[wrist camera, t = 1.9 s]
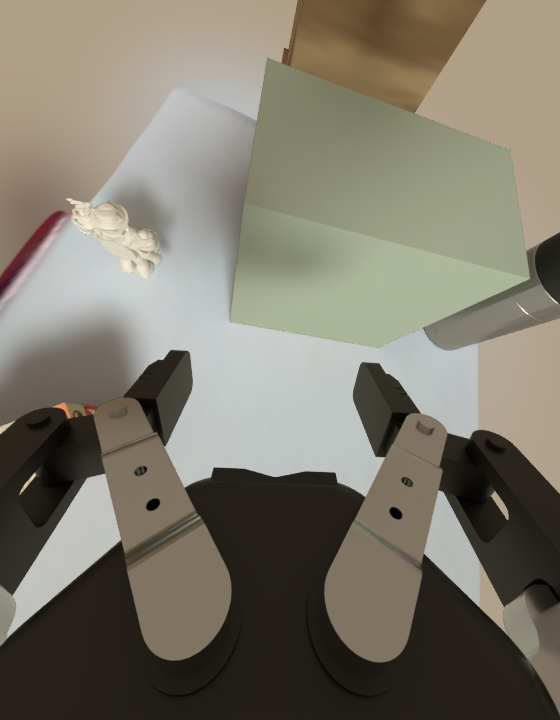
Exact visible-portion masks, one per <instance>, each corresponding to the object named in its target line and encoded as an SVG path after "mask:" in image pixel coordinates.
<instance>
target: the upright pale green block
mask: <svg viewBox="0 0 560 720" xmlns="http://www.w3.org/2000/svg"><path fill="white" fill-rule="evenodd" d="M529 279H530V274H529V267H528V261H527V254H526V248H525V241H524V235H523V228H522V221H521V215H520V208H519V202H518V195H517V188H516V182H515V176H514V169H513V162H512V156H511V150H509V149H507V148H504V147H502V146H499V145H496V144H494V143H491V142H488V141H486V140H483V139H480V138H478V137H475V136H472V135H470V134H467V133H464V132H462V131H459V130H456V129H454V128H451V127H449V126H446V125H443V124H440V123H438V122H435V121H433V120H430V119H427V118H425V117H422V116H419V115H417V114H414V113H412V112H409V111H406V110H404V109H401V108H398V107H396V106H393V105H390V104H388V103H385V102H382V101H380V100H377V99H374V98H372V97H369V96H367V95H364V94H361V93H359V92H356V91H353V90H351V89H348V88H345V87H343V86H340V85H337V84H335V83H332V82H329V81H327V80H324V79H322V78H319V77H316V76H314V75H311V74H308V73H306V72H303V71H300V70H298V69H295V68H292V67H290V66H287V65H285V64H282V63H279V62H276V61H274V60H271V59H269V58H267V63H266V69H265V75H264V82H263V88H262V94H261V100H260V106H259V112H258V119H257V125H256V131H255V137H254V143H253V149H252V156H251V162H250V168H249V174H248V180H247V187H246V193H245V199H244V206H243V214H242V223H241V231H240V240H239V248H238V257H237V265H236V273H235V282H234V290H233V299H232V307H231V316H230V322H232V323H238V324H244V325H249V326H255V327H261V328H267V329H272V330H278V331H284V332H290V333H295V334H301V335H307V336H312V337H318V338H324V339H330V340H335V341H341V342H347V343H352V344H358V345H364V346H370V347H375V348H379V347H382V346H384V345H386V344H388V343H390V342H393V341H395V340H397V339H399V338H401V337H403V336H406V335H408V334H410V333H412V332H414V331H417V330H419V329H421V328H423V327H425V326H428V325H430V324H432V323H434V322H436V321H439V320H441V319H443V318H445V317H447V316H450V315H452V314H454V313H456V312H458V311H461V310H463V309H465V308H467V307H469V306H472V305H474V304H476V303H478V302H480V301H483V300H485V299H487V298H489V297H491V296H494V295H496V294H498V293H500V292H502V291H505V290H507V289H509V288H511V287H513V286H516V285H518V284H520V283H522V282H524V281H527V280H529Z"/></svg>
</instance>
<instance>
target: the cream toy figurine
mask: <svg viewBox="0 0 560 720" xmlns="http://www.w3.org/2000/svg"><path fill="white" fill-rule="evenodd" d="M66 200H68V201H70V202H71V203H70V204H77V205H75V208H74V209H72V212H73V215H72V217H71V221H72V222H73V223H74V224H76V226H77V225H78V226H79V227H81V228H83V229H85V230H91V231H92V234H93V236H95V237H96V238H97V239H98V240H100V241H101V244H102V245H103V247H104V248H106V249H107V250H108V251H110V252H111V253H113V254H115V255H117V256H119V257H120V264H121V268H122V270H123V271H124V272H126V273H132V272H133V271H134V270H135V266H136V264H137V270H138V273H139V275H140V276H141V277H143V278H149V277H150V276H151V274H152V273H153V271H154V266H153V264H152V263H151V262H153V263H155V264H157V265H159V264H160V262H162V259H161V258H162V255H160V254H158V253H156V252H158V251H159V249H160V243H159V241H158V240H157V238H158V237H155V235H154V234H152V232H153V233H155V234H156V232H154V231H153V230H151V229H141V230H139V231H138V230H137V229H135V228H134V227H131V224H130V222H129V221H128V213H127V211H126V209H125V208H124V207H123V206H121V205H119V204H116V203H111V202H109V201H108V202H106V203H102V204H99V205H98V206H96V207H95V208H93V207H90V206H92V205H91V203H82V202H81V201H75V200H73V199H71V198H70V199H66ZM71 200H72V201H71ZM75 211H77V212H75ZM77 228H78V227H77ZM145 228H146V227H145ZM78 229H79V228H78ZM79 230H80V229H79ZM80 231H81V232H82V233H83V234H85V235H90V234H91V231H90V232H88V233H86V232H83V231H82V230H80ZM150 231H151V232H150ZM157 241H158V243H159V246H158V249H157V250H156V251H153V250H155V248H156V247H157ZM147 260H150V261H151V262H150V261H147Z"/></svg>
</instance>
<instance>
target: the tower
mask: <svg viewBox="0 0 560 720" xmlns="http://www.w3.org/2000/svg"><path fill="white" fill-rule="evenodd" d="M485 2H486V0H298V3H297V8H296V13H295V19H294V24H293V29H292V34H291V39H290V45H289V50H288V49H286V48H284V53H283V58H282V64H285V65H287V66H290V67H292V68H295V69H298V70H300V71H303V72H306V73H308V74H311V75H314V76H316V77H319V78H322V79H324V80H327V81H329V82H332V83H335V84H337V85H340V86H343V87H345V88H348V89H351V90H353V91H356V92H359V93H361V94H364V95H367V96H369V97H372V98H374V99H377V100H380V101H382V102H385V103H388V104H390V105H393V106H396V107H398V108H401V109H404V110H406V111H409V112H412V113H415V111H416V110H417V108H418V107H419V105H420V104H421V102H422V100H423V99H424V97H425V96H426V94H427V93H428V91H429V89H430V88H431V86H432V85H433V83H434V82H435V80H436V79H437V77H438V75H439V74H440V72H441V71H442V69H443V67H444V66H445V64H446V63H447V61H448V60H449V58H450V57H451V55H452V53H453V52H454V50H455V49H456V47H457V45H458V44H459V42H460V41H461V39H462V38H463V36H464V35H465V33H466V32H467V30H468V28H469V27H470V25H471V24H472V22H473V21H474V19H475V17H476V16H477V14H478V12H479V11H480V9H481V8H482V6H483V5H484V3H485Z"/></svg>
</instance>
